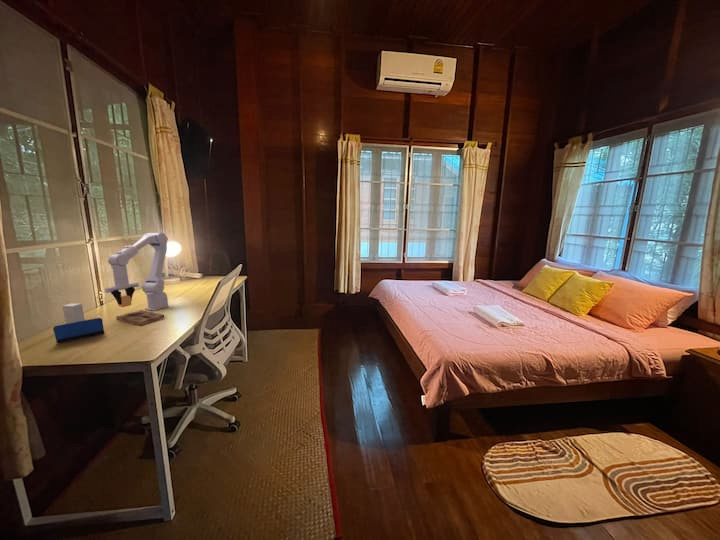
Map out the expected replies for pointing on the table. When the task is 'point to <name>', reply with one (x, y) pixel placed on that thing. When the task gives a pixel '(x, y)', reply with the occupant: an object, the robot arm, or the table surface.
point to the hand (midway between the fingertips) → (124, 303)
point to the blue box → (78, 330)
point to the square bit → (125, 301)
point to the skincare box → (73, 313)
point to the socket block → (140, 317)
